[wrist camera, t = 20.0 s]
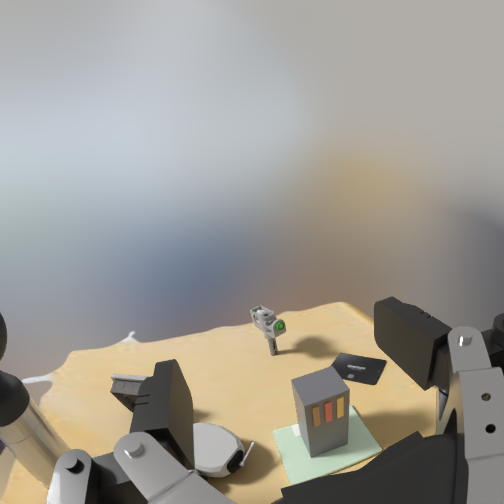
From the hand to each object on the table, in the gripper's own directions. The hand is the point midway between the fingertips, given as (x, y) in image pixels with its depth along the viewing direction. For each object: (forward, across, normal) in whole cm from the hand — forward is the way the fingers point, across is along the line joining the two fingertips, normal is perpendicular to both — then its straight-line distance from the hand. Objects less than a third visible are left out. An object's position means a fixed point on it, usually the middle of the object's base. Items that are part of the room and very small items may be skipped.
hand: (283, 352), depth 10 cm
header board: (+15, -6, +30) cm, 34 cm away
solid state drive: (+29, -18, +31) cm, 46 cm away
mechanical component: (+42, -5, +30) cm, 52 cm away
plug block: (+16, -6, +29) cm, 34 cm away
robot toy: (+16, +12, +30) cm, 36 cm away
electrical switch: (+32, +22, +30) cm, 49 cm away
